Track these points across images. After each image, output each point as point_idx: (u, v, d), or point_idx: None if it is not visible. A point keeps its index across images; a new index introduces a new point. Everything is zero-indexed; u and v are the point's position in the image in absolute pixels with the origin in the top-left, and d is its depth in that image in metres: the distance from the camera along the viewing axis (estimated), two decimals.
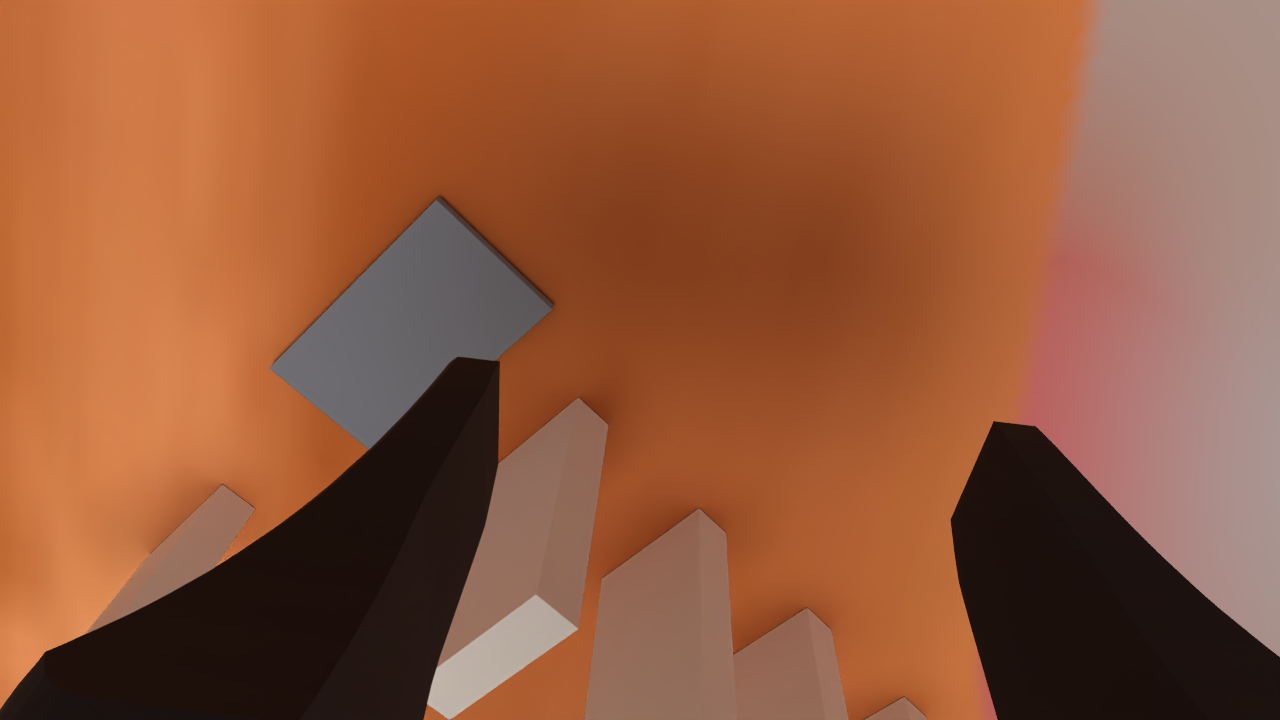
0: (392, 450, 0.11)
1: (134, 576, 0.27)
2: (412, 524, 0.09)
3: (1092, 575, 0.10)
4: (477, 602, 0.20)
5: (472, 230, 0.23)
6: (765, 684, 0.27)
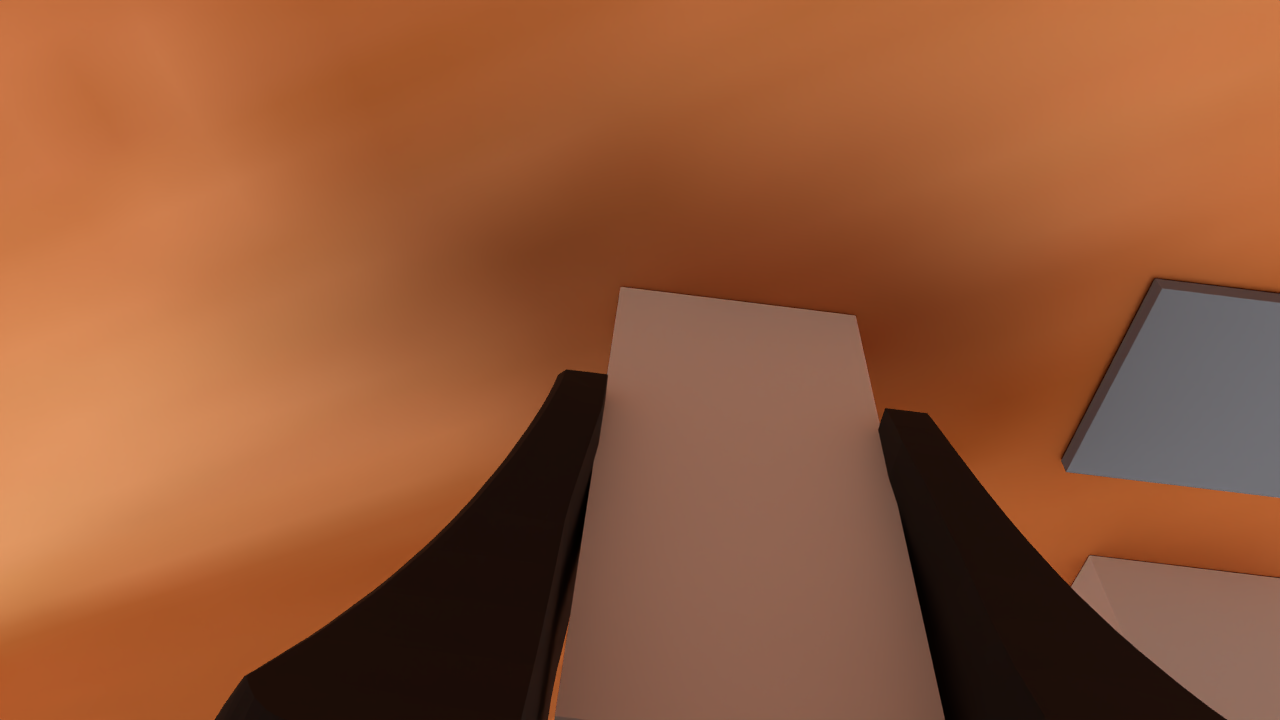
0: (525, 466, 0.11)
1: (655, 344, 0.14)
2: (560, 542, 0.10)
3: (954, 559, 0.10)
4: None
5: None
6: None
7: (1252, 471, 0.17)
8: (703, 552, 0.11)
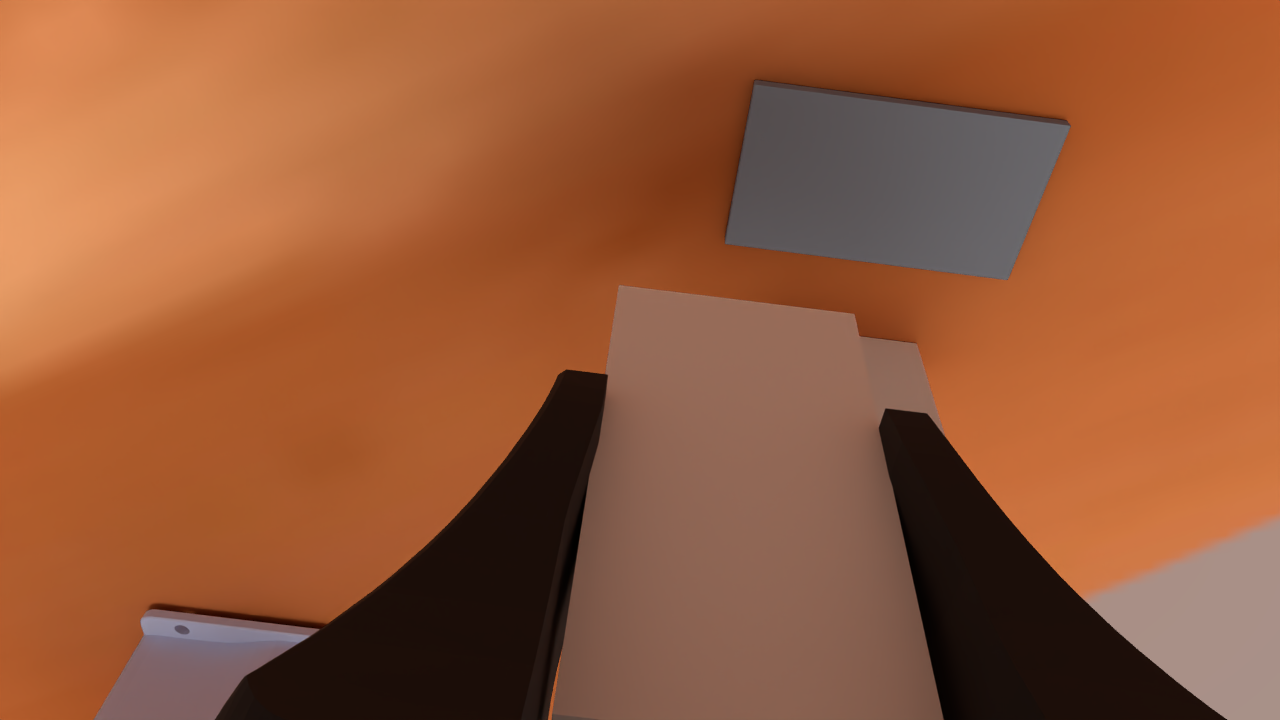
0: (525, 466, 0.11)
1: (653, 342, 0.14)
2: (560, 542, 0.10)
3: (954, 560, 0.10)
4: None
5: None
6: None
7: (859, 241, 0.22)
8: (701, 550, 0.11)
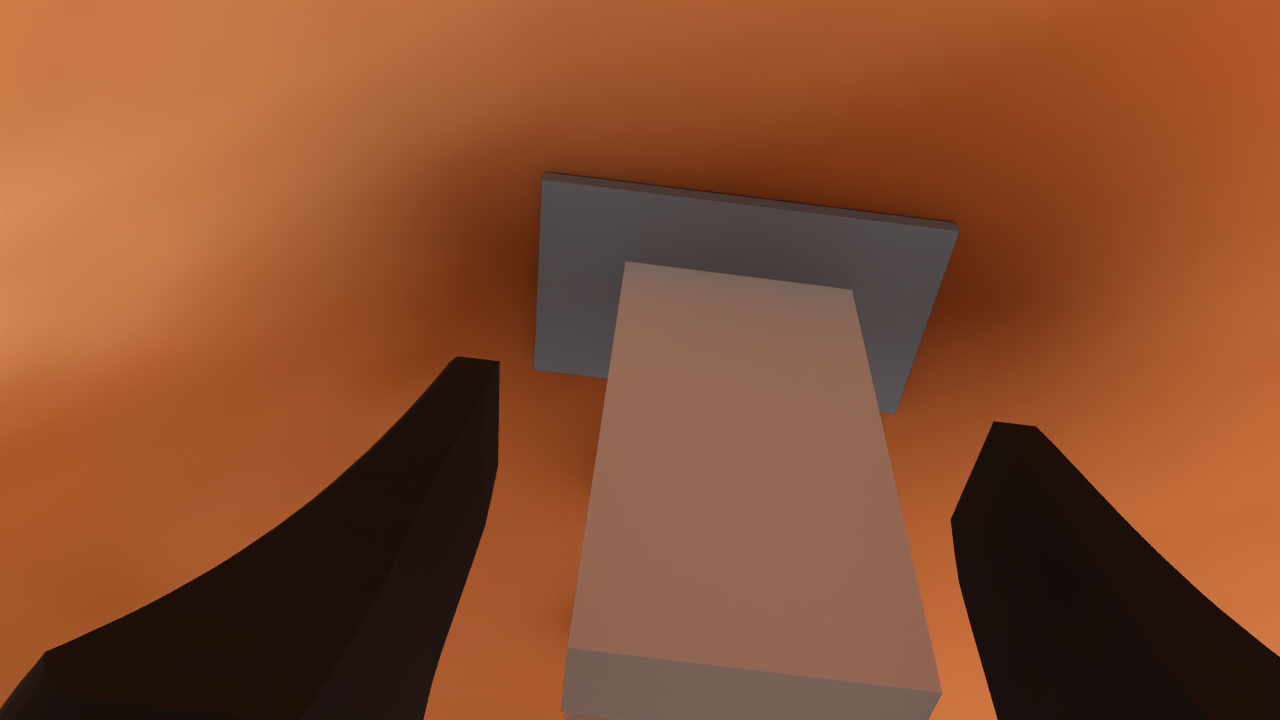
0: (392, 450, 0.11)
1: (659, 314, 0.15)
2: (412, 524, 0.09)
3: (1092, 576, 0.10)
4: None
5: None
6: None
7: None
8: (705, 503, 0.12)
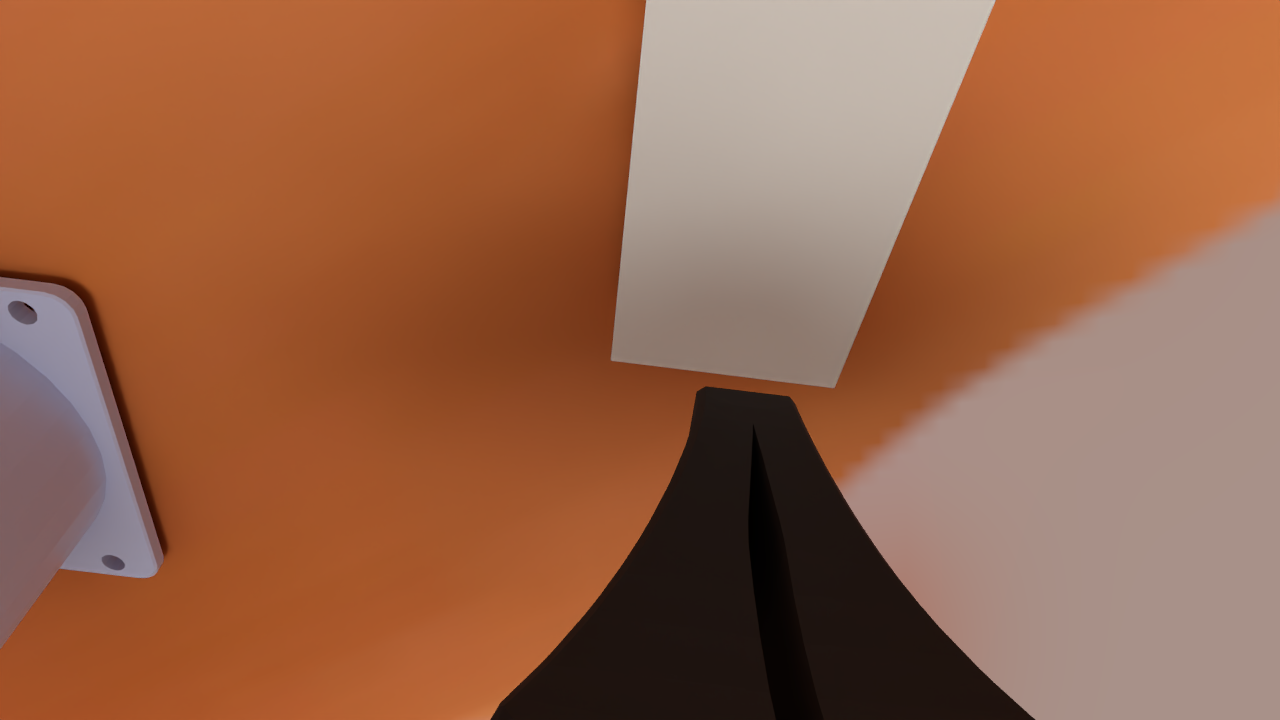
0: (695, 487, 0.11)
1: None
2: (750, 565, 0.10)
3: (779, 539, 0.10)
4: None
5: None
6: None
7: None
8: None
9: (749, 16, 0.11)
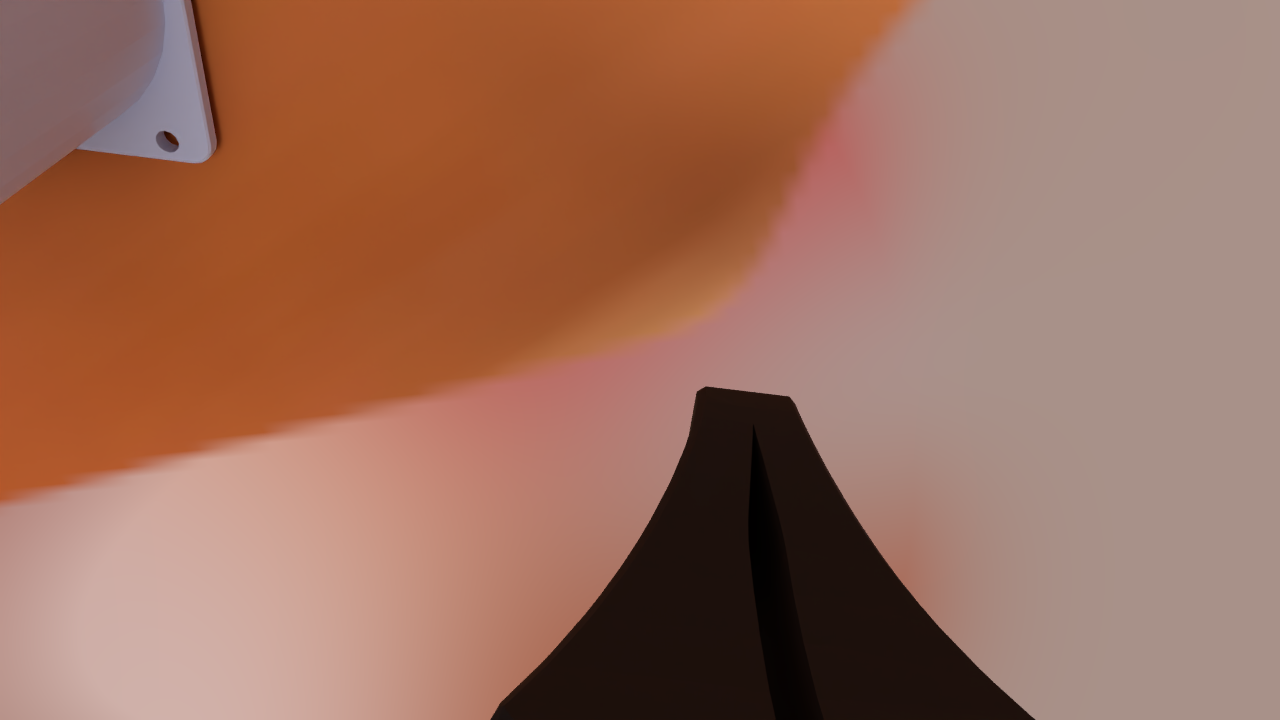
0: (695, 486, 0.11)
1: None
2: (750, 564, 0.10)
3: (779, 539, 0.10)
4: None
5: None
6: None
7: None
8: None
9: None
